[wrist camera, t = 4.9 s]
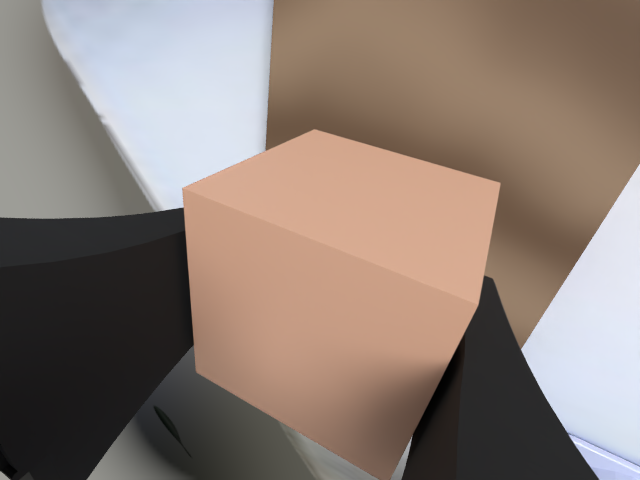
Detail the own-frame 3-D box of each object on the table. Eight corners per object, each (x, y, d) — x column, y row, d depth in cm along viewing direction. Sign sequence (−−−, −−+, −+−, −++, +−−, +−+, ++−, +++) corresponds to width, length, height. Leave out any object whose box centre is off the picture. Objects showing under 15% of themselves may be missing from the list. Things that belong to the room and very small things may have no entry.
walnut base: (497, 367, 19) (495, 388, 18) (271, 268, 24) (258, 281, 22) (771, -81, 9) (806, -97, 8) (301, -107, 14) (280, -120, 13)
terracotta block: (435, 330, 11) (387, 484, 7) (296, 270, 13) (196, 372, 9) (500, 182, 9) (478, 305, 5) (314, 129, 10) (182, 188, 6)
